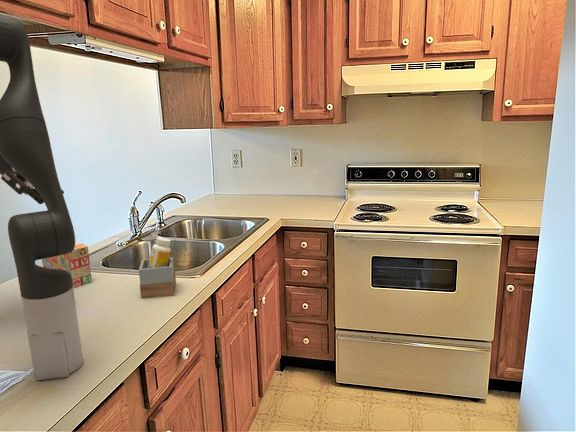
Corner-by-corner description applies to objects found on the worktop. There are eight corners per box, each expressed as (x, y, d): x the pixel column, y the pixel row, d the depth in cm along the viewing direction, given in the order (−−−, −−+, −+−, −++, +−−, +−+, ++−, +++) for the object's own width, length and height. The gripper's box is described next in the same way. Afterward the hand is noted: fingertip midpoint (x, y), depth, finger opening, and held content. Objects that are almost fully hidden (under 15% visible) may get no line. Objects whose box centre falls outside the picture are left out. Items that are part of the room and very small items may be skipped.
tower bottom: (173, 296, 126) (172, 282, 124) (141, 299, 124) (139, 284, 123) (176, 284, 134) (175, 271, 133) (146, 287, 133) (144, 273, 132)
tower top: (173, 281, 125) (171, 267, 124) (140, 284, 123) (138, 270, 122) (173, 271, 133) (172, 257, 132) (143, 273, 131) (141, 259, 130)
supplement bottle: (143, 269, 125) (150, 237, 125) (153, 266, 131) (160, 236, 130) (160, 274, 124) (167, 242, 124) (169, 271, 130) (176, 240, 129)
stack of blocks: (43, 273, 145) (37, 238, 142) (62, 268, 150) (57, 234, 147) (72, 288, 132) (67, 250, 129) (92, 282, 137) (88, 245, 134)
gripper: (-10, 145, 101) (47, 193, 104) (26, 141, 115) (75, 183, 117) (-28, 168, 102) (28, 215, 105) (9, 161, 116) (58, 203, 119)
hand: (53, 198), depth 111 cm, fingers open, 8 cm apart
